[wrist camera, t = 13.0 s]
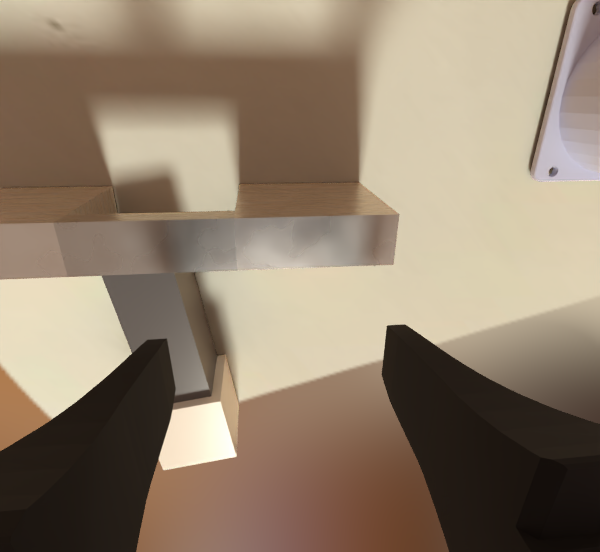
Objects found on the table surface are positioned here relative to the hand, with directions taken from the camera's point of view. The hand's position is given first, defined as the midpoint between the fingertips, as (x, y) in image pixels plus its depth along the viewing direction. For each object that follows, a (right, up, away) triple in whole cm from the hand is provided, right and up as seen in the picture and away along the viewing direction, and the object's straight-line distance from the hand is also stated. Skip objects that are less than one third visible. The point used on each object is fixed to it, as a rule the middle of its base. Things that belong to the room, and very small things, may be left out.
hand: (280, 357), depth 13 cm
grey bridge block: (-5, +6, +6) cm, 10 cm away
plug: (-6, -1, +10) cm, 11 cm away
